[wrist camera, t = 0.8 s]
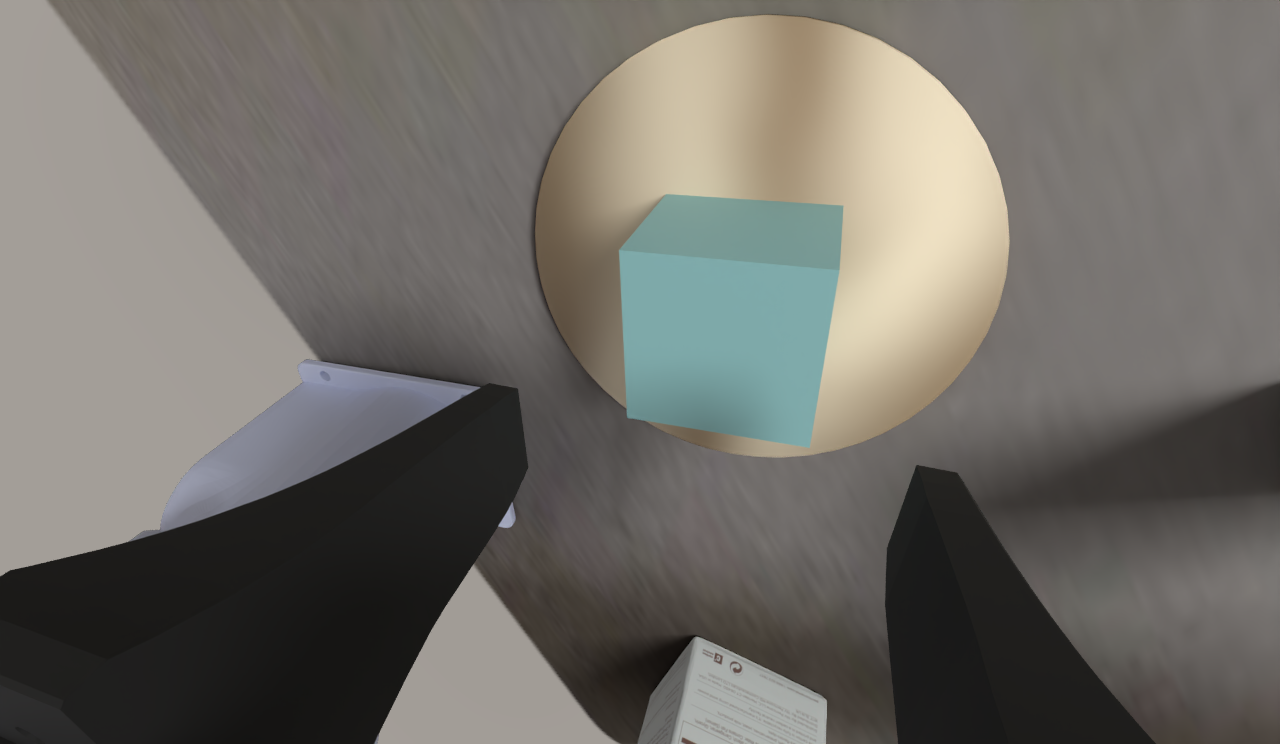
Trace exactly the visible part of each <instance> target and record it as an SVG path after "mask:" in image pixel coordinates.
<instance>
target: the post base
mask: <svg viewBox="0 0 1280 744" xmlns="http://www.w3.org/2000/svg"><path fill="white" fill-rule="evenodd" d="M666 194H674V195H689V196H704V197H720V198H735V199H750V200H766V201H781V202H796V203H812V204H827V205H843V206H844V207H843V224H842V240H841V256H840V271H839V277H838V283H837V289H836V295H835V301H834V307H833V312H832V318H831V324H830V330H829V336H828V342H827V348H826V354H825V360H824V366H823V372H822V378H821V383H820V389H819V395H818V401H817V407H816V413H815V419H814V425H813V431H812V437H811V443H810V448H807V447H801V446H795V445H789V444H783V443H777V442H771V441H765V440H759V439H753V438H747V437H741V436H735V435H729V434H723V433H717V432H710V431H704V430H698V429H692V428H686V427H680V426H674V425H668V424H662V423H656V422H650V421H646V422H648V423H649V424H651V425H653V426H655V427H656V428H658V429H660V430H662V431H664V432H666V433H668V434H671V435H673V436H675V437H678V438H680V439H682V440H684V441H687V442H690V443H693V444H696V445H699V446H703V447H706V448H709V449H713V450H718V451H722V452H727V453H731V454H739V455H747V456H755V457H793V456H806V455H813V454H818V453H824V452H829V451H834V450H838V449H841V448H845V447H848V446H851V445H855V444H858V443H861V442H863V441H866V440H868V439H870V438H873V437H875V436H878V435H880V434H882V433H885V432H887V431H888V430H890V429H892V428H894V427H895V426H897V425H899V424H901V423H903V422H904V421H906V420H908V419H909V418H911V417H912V416H914V415H915V414H916V413H918V412H919V411H920V410H922V409H923V408H924V407H926V406H927V405H929V404H930V403H931V402H932V401H934V400H935V399H936V398H937V397H938V396H939V395H940V394H941V393H942V392H943V391H944V390H945V389H946V388H947V387H948V386H949V385H950V384H951V383H953V381H954V380H955V379H956V378H957V376H958V375H959V374H960V373H961V371H962V370H963V369H964V368H965V367H966V365H967V364H968V363H969V362H970V360H971V359H972V357H973V356H974V354H975V352H976V351H977V349H978V347H979V346H980V344H981V342H982V341H983V339H984V338H985V336H986V334H987V332H988V330H989V327H990V325H991V322H992V320H993V318H994V315H995V313H996V311H997V308H998V306H999V302H1000V298H1001V294H1002V290H1003V287H1004V283H1005V279H1006V274H1007V264H1008V253H1009V228H1008V213H1007V206H1006V202H1005V198H1004V193H1003V189H1002V185H1001V180H1000V176H999V174H998V171H997V169H996V166H995V164H994V162H993V159H992V157H991V154H990V152H989V150H988V147H987V145H986V143H985V141H984V139H983V138H982V136H981V135H980V133H979V131H978V130H977V128H976V127H975V125H974V123H973V122H972V120H971V119H970V117H969V115H968V114H967V112H966V111H965V109H964V108H963V107H962V106H961V105H960V104H959V102H958V101H957V100H956V99H955V98H954V97H953V96H952V95H951V93H950V92H949V91H948V90H947V89H946V88H945V87H944V85H943V84H942V83H941V82H940V81H939V80H938V79H937V78H935V77H934V76H933V75H932V74H930V73H929V72H928V71H927V70H926V69H924V68H923V67H922V66H921V65H919V64H918V63H917V62H916V61H915V60H913V59H912V58H911V57H909V56H908V55H906V54H904V53H902V52H901V51H899V50H897V49H896V48H894V47H892V46H890V45H889V44H887V43H885V42H883V41H882V40H880V39H878V38H876V37H873V36H871V35H868V34H866V33H863V32H860V31H858V30H855V29H853V28H850V27H848V26H845V25H842V24H838V23H833V22H828V21H824V20H819V19H815V18H810V17H805V16H790V15H774V14H764V15H753V16H741V17H731V18H727V19H723V20H718V21H714V22H710V23H706V24H702V25H698V26H694V27H692V28H689V29H687V30H684V31H682V32H679V33H677V34H674V35H672V36H669V37H667V38H665V39H662V40H660V41H658V42H656V43H654V44H653V45H651V46H649V47H647V48H646V49H644V50H642V51H641V52H639V53H637V54H635V55H634V56H632V57H630V58H629V59H628V60H626V61H625V62H624V63H623V64H621V65H620V66H619V67H618V68H616V69H615V70H614V71H613V72H611V73H610V74H609V75H608V76H606V77H605V78H604V79H603V80H602V81H601V82H600V83H599V84H598V85H597V86H596V87H595V88H594V90H593V91H592V92H591V93H590V94H589V95H588V96H587V97H586V98H585V99H584V100H583V101H582V102H581V104H580V105H579V107H578V108H577V110H576V111H575V113H574V114H573V115H572V117H571V118H570V120H569V121H568V123H567V124H566V125H565V127H564V129H563V131H562V133H561V135H560V137H559V139H558V141H557V143H556V145H555V147H554V149H553V151H552V153H551V155H550V158H549V161H548V164H547V167H546V170H545V173H544V176H543V178H542V182H541V187H540V192H539V197H538V203H537V209H536V225H535V242H536V257H537V264H538V269H539V275H540V280H541V285H542V288H543V291H544V294H545V297H546V301H547V304H548V307H549V309H550V312H551V314H552V316H553V318H554V321H555V323H556V325H557V327H558V329H559V331H560V333H561V335H562V336H563V338H564V340H565V341H566V343H567V345H568V346H569V348H570V350H571V352H572V353H573V354H574V356H575V357H576V358H577V360H578V361H579V362H580V364H581V365H582V366H583V367H584V369H585V370H586V371H587V373H588V374H589V375H590V376H591V377H592V378H593V379H594V380H595V381H596V382H597V383H598V384H599V385H600V386H601V387H602V389H604V390H605V391H606V392H607V393H608V394H609V395H610V396H612V397H613V398H614V399H615V400H616V401H617V402H619V403H620V404H621V405H622V406H624V407H625V408H626V409H627V405H626V384H625V363H624V342H623V322H622V301H621V280H620V260H619V250H620V248H621V247H622V246H623V245H624V244H625V242H626V241H627V240H628V239H629V238H630V237H631V235H632V234H633V233H634V232H635V231H636V229H637V228H638V227H639V226H640V225H641V223H642V222H643V221H644V220H645V219H646V217H647V216H648V215H649V214H650V213H651V212H652V210H653V209H654V208H655V207H656V206H657V204H658V203H659V202H660V201H661V200H662V198H663V197H664V196H665V195H666Z"/></svg>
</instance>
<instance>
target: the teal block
mask: <svg viewBox="0 0 1280 744" xmlns="http://www.w3.org/2000/svg"><path fill="white" fill-rule="evenodd" d="M843 207H844V206H843V205H827V204H812V203H796V202H781V201H766V200H750V199H735V198H720V197H704V196H689V195H674V194H666V195H665V196H664V197H663V198H662V200H661V201H660V202H659V203H658V204H657V206H656V207H655V208H654V209H653V210H652V212H651V213H650V214H649V215H648V216H647V217H646V219H645V220H644V221H643V222H642V223H641V225H640V226H639V227H638V228H637V229H636V231H635V232H634V233H633V234H632V235H631V237H630V238H629V239H628V240H627V241H626V242H625V244H624V245H623V246H622V247H621V248H620V250H619V260H620V280H621V301H622V322H623V342H624V363H625V384H626V405H627V418H632V419H638V420H644V421H650V422H656V423H662V424H668V425H674V426H680V427H686V428H692V429H698V430H704V431H710V432H717V433H723V434H729V435H735V436H741V437H747V438H753V439H759V440H765V441H771V442H777V443H783V444H789V445H795V446H801V447H807V448H810V443H811V437H812V431H813V425H814V419H815V413H816V407H817V401H818V395H819V389H820V383H821V378H822V372H823V366H824V360H825V354H826V348H827V342H828V336H829V330H830V324H831V318H832V312H833V307H834V301H835V295H836V289H837V283H838V277H839V271H840V256H841V240H842V224H843Z"/></svg>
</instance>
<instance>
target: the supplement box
mask: <svg viewBox="0 0 1280 744" xmlns="http://www.w3.org/2000/svg"><path fill="white" fill-rule="evenodd" d="M826 718H827V701H826V699H825V698H824V697H822V696H821V695H820V694H818V693H815V692H813V691H811V690H810V689H808V688H806V687H804V686H802V685H800V684H798V683H795V682H793V681H791V680H789V679H787V678H785V677H783V676H781V675H779V674H777V673H775V672H773V671H771V670H769V669H766V668H764V667H762V666H760V665H758V664H756V663H754V662H752V661H750V660H748V659H746V658H743V657H741V656H739V655H737V654H735V653H733V652H731V651H729V650H727V649H724V648H722V647H720V646H718V645H716V644H714V643H712V642H709V641H707V640H705V639H703V638H700V637H697V636H696V637H694V638H693V639H692V641H691V642H690V643H689V645H688V646H687V647H686V648H685V650H684V651H683V652H682V654H681V655H680V656H679V658H678V659H677V660H676V662H675V663H674V664H673V666H672V667H671V668H670V670H669V671H668V672H667V674H666V675H665V677H664V678H663V679H662V681H661V682H660V683H659V685H658V686H657V687H656V689H655V690H654V692H653V693H652V694H651V695H650V700H649V704H648V707H647V711H646V715H645V718H644V722H643V725H642V729H641V732H640V736H639V740H638V743H637V744H826Z"/></svg>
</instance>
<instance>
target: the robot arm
mask: <svg viewBox="0 0 1280 744" xmlns="http://www.w3.org/2000/svg"><path fill="white" fill-rule="evenodd" d="M298 371H299V374H300V376H301V379H302V381H303V383H301V384H300V385H299V386H297V387H296V388H295V389H293V390H292V391H291V392H289V393H288V394H287V395H286V396H284V397H283V398H281V399H280V400H279V401H277V402H276V403H275V404H273V405H272V406H271V407H269V408H268V409H267V410H265V411H264V412H263V413H262V414H260V415H259V416H257V417H256V418H255V419H253V420H252V421H251V422H249V423H248V424H247V425H245V426H244V427H243V428H241V429H240V430H239V431H237V432H236V433H235V434H233V435H232V436H231V437H229V438H228V439H227V440H225V441H224V442H223V443H221V444H220V445H219V446H217V447H216V448H215V449H213V450H212V451H211V452H209V453H208V454H207V455H205V456H204V457H203V458H201V459H200V460H199V461H198V462H197V463H196V464H195V465H193V466H192V467H191V468H190V470H189V471H188V472H187V473H186V474H185V475H184V476H183V478H182V479H181V480H180V482H179V483H178V485H177V486H176V488H175V490H174V491H173V493H172V495H171V496H170V498H169V501H168V503H167V505H166V507H165V510H164V513H163V516H162V520H161V527H160V530H148V531H143V532H141V533H140V534H138V535H137V536H136V537H134V538H133V539H131V540H130V541H129V542H126V543H123V544H119V545H115V546H111V547H108V548H104V549H100V550H96V551H92V552H87V553H83V554H79V555H75V556H71V557H66V558H63V559H59V560H54V561H50V562H46V563H41V564H37V565H33V566H29V567H24V568H19V569H15V570H10V571H8V572H7V573H5V574H4V575H2V576H0V744H377V743H378V737H379V732H380V730H381V728H382V726H383V724H384V722H385V720H386V718H387V716H388V714H389V712H390V710H391V708H392V706H393V704H394V702H395V700H396V698H397V696H398V693H399V691H400V689H401V687H402V685H403V683H404V681H405V679H406V677H407V675H408V673H409V672H410V669H411V668H412V666H413V664H414V662H415V660H416V658H417V656H418V654H419V652H420V651H421V649H422V647H423V645H424V643H425V641H426V639H427V637H428V635H429V633H430V632H431V630H432V628H433V626H434V625H435V623H436V621H437V619H438V618H439V616H440V615H441V613H442V611H443V610H444V608H445V606H446V605H447V603H448V602H449V600H450V599H451V597H452V596H453V594H454V593H455V591H456V590H457V588H458V587H459V585H460V584H461V582H462V581H463V579H464V578H465V576H466V575H467V573H468V571H469V570H470V568H471V567H472V565H473V564H474V562H475V561H476V559H477V558H478V556H479V555H480V553H481V552H482V550H483V549H484V547H485V546H486V544H487V543H488V541H489V540H490V538H491V536H492V535H493V533H494V532H495V530H496V529H497V527H498V526H499V527H504V528H509V527H511V526H512V525H513V524H514V522H515V519H516V517H515V512H514V507H513V502H512V501H513V499H514V497H515V495H516V493H517V491H518V489H519V487H520V485H521V482H522V480H523V478H524V476H525V474H526V471H527V469H528V462H527V454H526V447H525V439H524V432H523V424H522V417H521V410H520V402H519V395H518V389H517V388H512V387H506V386H501V385H496V384H491V383H489V384H487V385H485V386H483V387H481V388H480V387H476V386H470V385H464V384H457V383H451V382H445V381H439V380H433V379H427V378H420V377H414V376H408V375H402V374H396V373H390V372H383V371H377V370H371V369H365V368H359V367H353V366H346V365H340V364H334V363H328V362H322V361H316V360H309V359H306V360H304V361H303V362H301V363H300V364H299V365H298ZM885 607H886V619H887V630H888V641H889V652H890V663H891V673H892V683H893V694H894V704H895V714H896V725H897V735H898V744H1156V743H1155V742H1154V741H1153V740H1152V739H1151V738H1150V737H1149V736H1148V735H1147V733H1146V732H1145V731H1144V730H1143V729H1142V728H1141V727H1140V726H1139V724H1138V723H1137V722H1136V721H1135V720H1134V719H1133V717H1132V716H1131V715H1130V714H1129V713H1128V712H1127V710H1126V709H1125V708H1124V707H1123V706H1122V705H1121V703H1120V702H1119V701H1118V700H1117V699H1116V698H1115V697H1114V695H1113V694H1112V693H1111V692H1110V691H1109V690H1108V688H1107V687H1106V686H1105V685H1104V684H1103V683H1102V681H1101V680H1100V679H1099V678H1098V677H1097V675H1096V674H1095V673H1094V672H1093V670H1092V669H1091V668H1090V667H1089V665H1088V664H1087V663H1086V662H1085V660H1084V659H1083V658H1082V657H1081V655H1080V654H1079V653H1078V651H1077V650H1076V649H1075V648H1074V646H1073V645H1072V644H1071V642H1070V641H1069V640H1068V638H1067V637H1066V636H1065V634H1064V633H1063V632H1062V630H1061V629H1060V628H1059V626H1058V625H1057V624H1056V622H1055V621H1054V620H1053V618H1052V617H1051V616H1050V614H1049V613H1048V611H1047V610H1046V609H1045V607H1044V606H1043V604H1042V603H1041V602H1040V600H1039V599H1038V597H1037V596H1036V595H1035V593H1034V592H1033V590H1032V589H1031V587H1030V586H1029V584H1028V583H1027V581H1026V580H1025V578H1024V577H1023V576H1022V574H1021V573H1020V571H1019V570H1018V568H1017V567H1016V565H1015V564H1014V562H1013V561H1012V559H1011V558H1010V556H1009V555H1008V553H1007V552H1006V550H1005V549H1004V547H1003V546H1002V544H1001V542H1000V541H999V539H998V538H997V536H996V534H995V533H994V531H993V530H992V528H991V527H990V525H989V523H988V522H987V520H986V518H985V517H984V515H983V514H982V512H981V510H980V509H979V507H978V505H977V504H976V502H975V500H974V499H973V497H972V495H971V494H970V492H969V490H968V489H967V487H966V486H965V484H964V482H963V481H962V479H961V478H960V476H959V475H958V474H957V473H955V472H950V471H945V470H940V469H935V468H929V467H924V466H919V465H917V466H916V468H915V471H914V474H913V477H912V480H911V482H910V485H909V488H908V491H907V494H906V496H905V499H904V502H903V505H902V508H901V511H900V513H899V516H898V519H897V522H896V525H895V527H894V530H893V533H892V536H891V539H890V541H889V544H888V547H887V563H886V597H885Z"/></svg>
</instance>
